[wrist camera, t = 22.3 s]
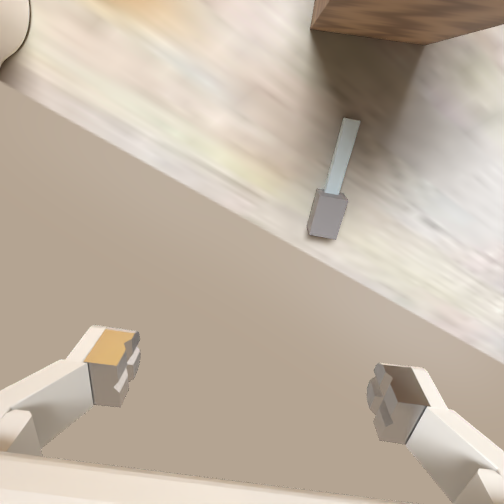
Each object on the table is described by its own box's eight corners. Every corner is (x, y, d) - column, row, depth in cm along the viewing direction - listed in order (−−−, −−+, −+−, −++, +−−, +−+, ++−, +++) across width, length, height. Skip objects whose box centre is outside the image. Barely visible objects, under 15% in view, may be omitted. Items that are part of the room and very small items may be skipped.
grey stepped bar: (332, 230, 51) (335, 239, 48) (306, 225, 51) (309, 234, 48) (365, 121, 44) (372, 124, 41) (336, 116, 44) (341, 118, 40)
